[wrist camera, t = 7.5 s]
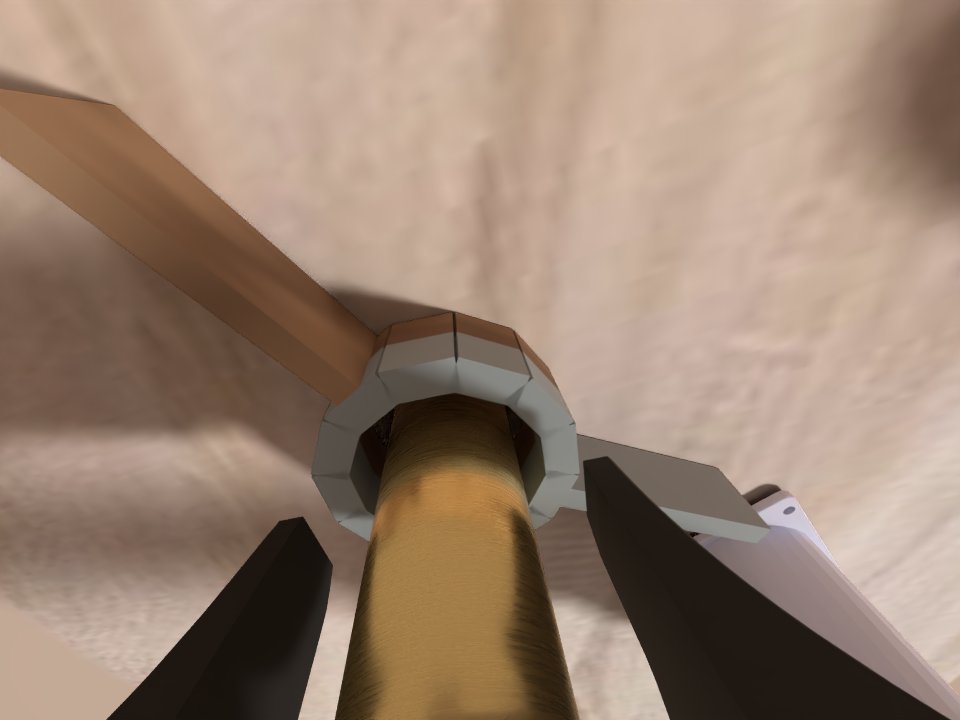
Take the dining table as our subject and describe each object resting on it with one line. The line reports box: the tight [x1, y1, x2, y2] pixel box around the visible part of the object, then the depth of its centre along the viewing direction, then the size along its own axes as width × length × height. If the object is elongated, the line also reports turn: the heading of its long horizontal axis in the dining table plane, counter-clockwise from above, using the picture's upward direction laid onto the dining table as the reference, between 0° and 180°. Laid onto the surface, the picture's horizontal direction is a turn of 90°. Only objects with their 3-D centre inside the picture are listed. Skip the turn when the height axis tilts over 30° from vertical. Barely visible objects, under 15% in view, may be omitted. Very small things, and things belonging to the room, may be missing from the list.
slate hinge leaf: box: [311, 332, 771, 544], centre depth 13 cm, size 14×10×3 cm
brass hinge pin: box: [335, 392, 580, 720], centre depth 10 cm, size 4×4×9 cm
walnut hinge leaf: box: [0, 89, 559, 479], centre depth 11 cm, size 16×8×3 cm, turn 41°
